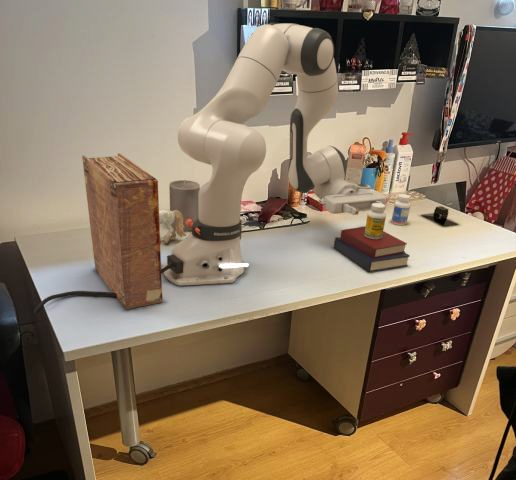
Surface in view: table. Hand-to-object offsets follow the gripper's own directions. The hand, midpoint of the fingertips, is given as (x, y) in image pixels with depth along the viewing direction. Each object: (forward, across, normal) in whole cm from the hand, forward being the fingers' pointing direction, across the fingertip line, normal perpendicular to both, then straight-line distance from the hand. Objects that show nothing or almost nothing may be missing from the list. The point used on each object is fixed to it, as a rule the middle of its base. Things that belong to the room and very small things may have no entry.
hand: (369, 210), depth 158 cm
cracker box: (-42, +23, +14) cm, 50 cm away
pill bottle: (-19, +29, +14) cm, 37 cm away
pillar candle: (-37, -45, +13) cm, 60 cm away
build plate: (-17, +46, +14) cm, 51 cm away
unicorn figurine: (-24, -59, +13) cm, 65 cm away
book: (0, -73, +13) cm, 74 cm away
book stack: (+4, 0, +13) cm, 14 cm away
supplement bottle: (+4, 0, +7) cm, 8 cm away
